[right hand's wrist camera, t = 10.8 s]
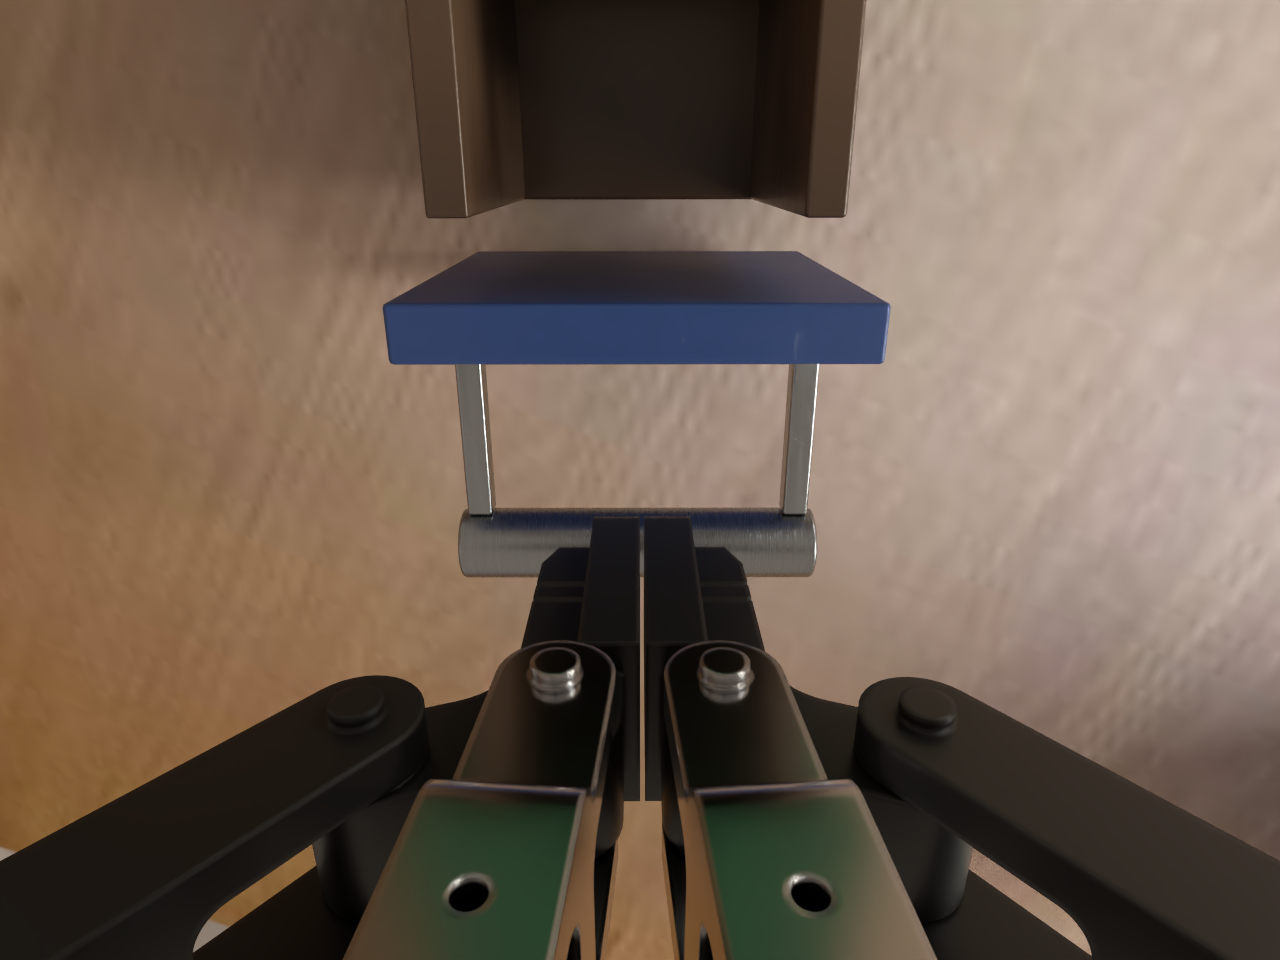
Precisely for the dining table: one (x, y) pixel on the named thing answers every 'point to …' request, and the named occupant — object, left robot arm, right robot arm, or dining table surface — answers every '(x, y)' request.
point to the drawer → (636, 169)
